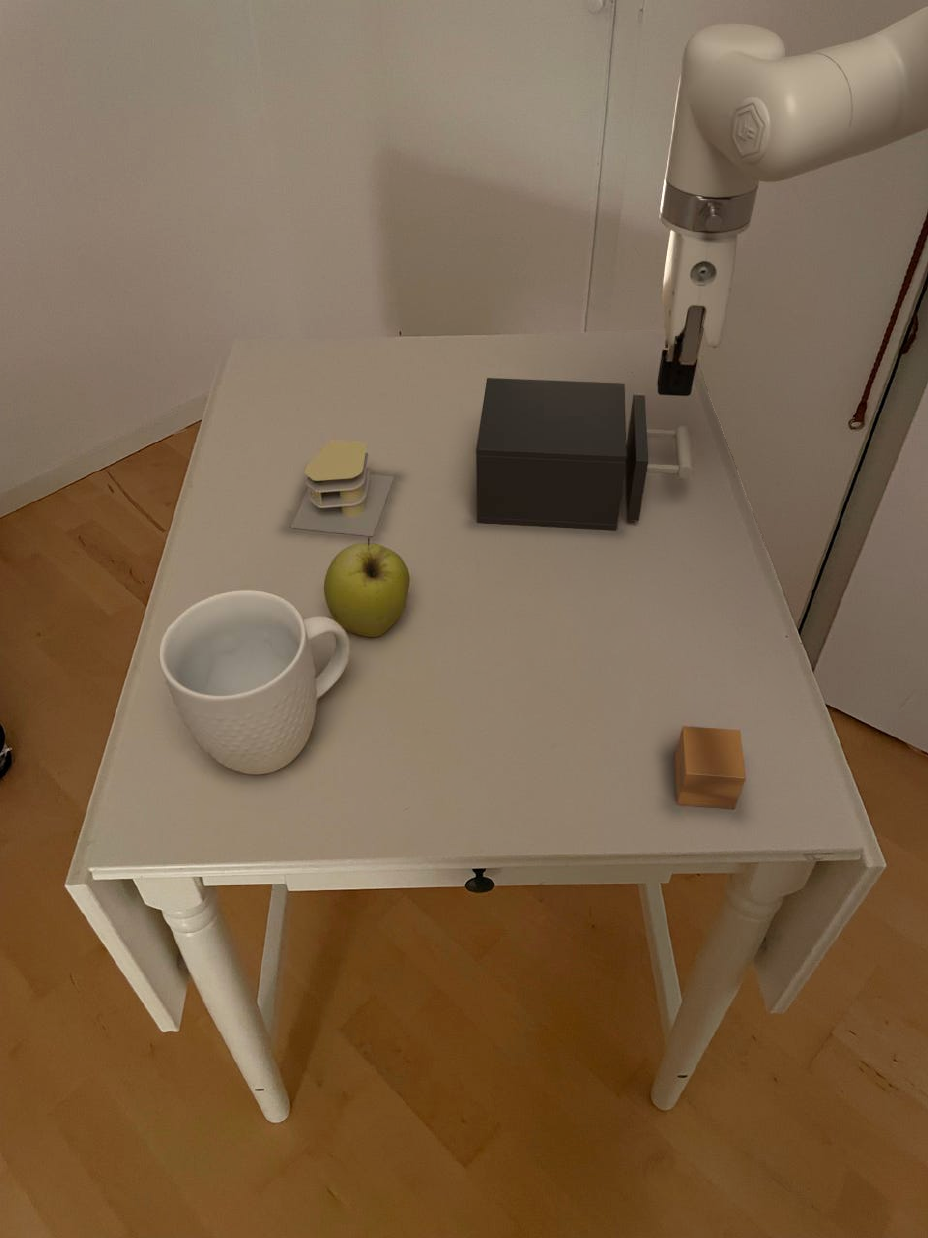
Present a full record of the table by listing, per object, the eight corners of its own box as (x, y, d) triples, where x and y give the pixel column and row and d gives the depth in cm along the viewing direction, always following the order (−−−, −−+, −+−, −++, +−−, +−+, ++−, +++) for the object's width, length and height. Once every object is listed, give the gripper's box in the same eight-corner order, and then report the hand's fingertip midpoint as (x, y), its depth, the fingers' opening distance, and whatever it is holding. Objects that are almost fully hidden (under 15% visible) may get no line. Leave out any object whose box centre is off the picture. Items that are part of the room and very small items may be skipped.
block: (729, 762, 76) (740, 730, 72) (734, 809, 73) (746, 778, 69) (674, 758, 76) (682, 725, 73) (677, 805, 73) (686, 773, 70)
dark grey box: (615, 456, 104) (624, 383, 97) (616, 530, 95) (626, 456, 88) (487, 450, 105) (486, 377, 98) (476, 523, 96) (476, 448, 89)
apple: (309, 594, 88) (327, 513, 82) (388, 596, 91) (412, 518, 85) (322, 654, 83) (342, 574, 76) (405, 654, 86) (432, 576, 79)
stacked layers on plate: (316, 469, 103) (309, 428, 99) (394, 477, 102) (390, 436, 98) (290, 528, 96) (281, 487, 92) (373, 536, 95) (367, 495, 91)
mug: (320, 651, 85) (299, 546, 75) (391, 724, 79) (377, 622, 69) (175, 736, 78) (131, 634, 69) (239, 823, 73) (201, 725, 63)
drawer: (680, 456, 102) (692, 396, 96) (687, 524, 94) (700, 463, 89) (515, 448, 104) (517, 389, 98) (508, 514, 96) (510, 454, 90)
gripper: (764, 244, 71) (718, 438, 84) (744, 166, 81) (706, 351, 94) (666, 241, 71) (636, 434, 85) (658, 164, 81) (633, 348, 95)
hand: (673, 390), depth 90 cm, fingers closed
